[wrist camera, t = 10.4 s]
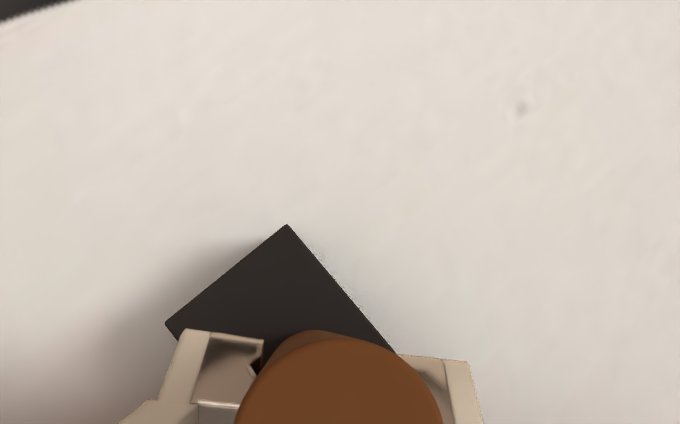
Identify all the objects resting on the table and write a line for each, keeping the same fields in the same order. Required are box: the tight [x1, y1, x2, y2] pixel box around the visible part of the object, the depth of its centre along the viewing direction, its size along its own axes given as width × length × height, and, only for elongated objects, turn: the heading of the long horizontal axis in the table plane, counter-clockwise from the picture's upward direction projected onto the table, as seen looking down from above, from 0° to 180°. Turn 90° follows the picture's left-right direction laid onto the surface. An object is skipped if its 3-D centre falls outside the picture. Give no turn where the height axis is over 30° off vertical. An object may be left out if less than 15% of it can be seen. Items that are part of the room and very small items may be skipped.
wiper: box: [165, 224, 444, 424], centre depth 11 cm, size 4×7×10 cm, turn 41°
